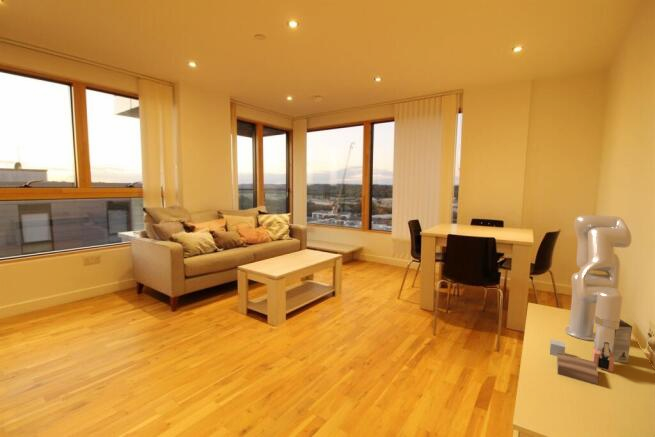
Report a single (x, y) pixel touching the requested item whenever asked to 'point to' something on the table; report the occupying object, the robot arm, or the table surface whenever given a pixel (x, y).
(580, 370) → the walnut block
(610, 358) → the terracotta cube
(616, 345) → the coffee box
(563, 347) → the grey cube
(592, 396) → the table surface
